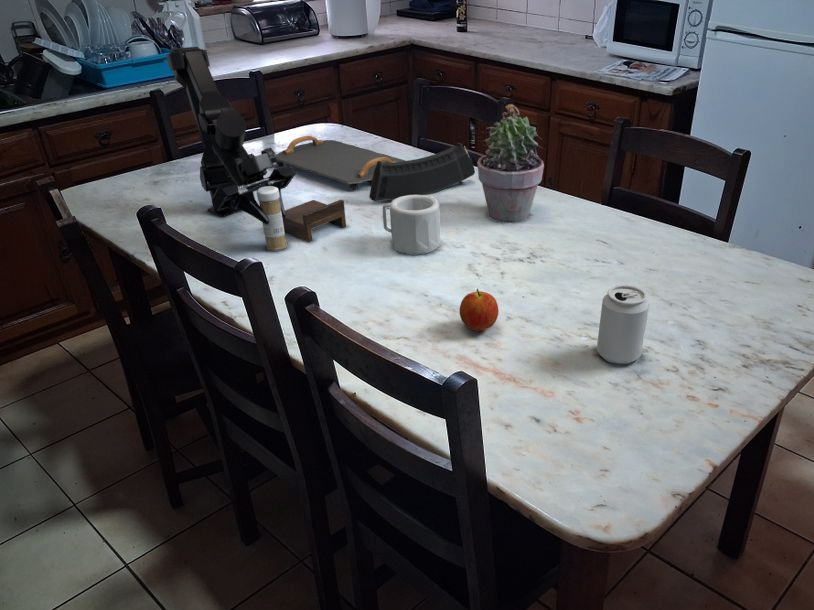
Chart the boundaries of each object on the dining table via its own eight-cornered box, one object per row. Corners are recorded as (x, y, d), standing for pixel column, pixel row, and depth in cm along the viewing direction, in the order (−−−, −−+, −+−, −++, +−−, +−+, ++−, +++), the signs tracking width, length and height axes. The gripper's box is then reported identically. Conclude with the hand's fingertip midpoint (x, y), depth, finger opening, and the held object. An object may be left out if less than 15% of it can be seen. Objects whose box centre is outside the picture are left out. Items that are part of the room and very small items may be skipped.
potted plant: (494, 237, 160) (497, 127, 146) (459, 208, 175) (459, 105, 161) (562, 225, 166) (571, 118, 153) (523, 197, 181) (528, 98, 168)
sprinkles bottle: (284, 241, 158) (275, 184, 151) (289, 249, 155) (280, 190, 147) (264, 245, 156) (254, 187, 149) (268, 253, 153) (258, 194, 146)
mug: (448, 240, 159) (447, 198, 153) (426, 259, 151) (424, 215, 145) (396, 230, 164) (394, 188, 158) (372, 247, 155) (368, 205, 150)
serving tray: (264, 165, 202) (261, 143, 199) (326, 146, 217) (323, 126, 214) (357, 196, 182) (355, 172, 178) (417, 173, 197) (416, 151, 193)
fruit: (501, 320, 129) (502, 282, 125) (493, 340, 124) (495, 300, 119) (464, 316, 131) (464, 277, 126) (455, 335, 125) (455, 295, 120)
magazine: (363, 173, 170) (462, 119, 178) (357, 169, 172) (455, 116, 181) (385, 231, 181) (477, 178, 190) (379, 227, 183) (470, 174, 192)
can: (591, 343, 123) (598, 282, 116) (633, 341, 123) (643, 281, 117) (602, 368, 116) (610, 305, 110) (646, 365, 117) (657, 303, 110)
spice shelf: (277, 230, 164) (273, 203, 160) (315, 215, 171) (312, 189, 168) (308, 242, 158) (305, 215, 154) (346, 226, 165) (343, 200, 162)
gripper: (208, 148, 139) (252, 214, 139) (283, 128, 151) (324, 188, 151) (194, 178, 147) (235, 241, 147) (266, 156, 159) (304, 214, 160)
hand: (276, 220), depth 151 cm, fingers closed on sprinkles bottle, 4 cm apart
